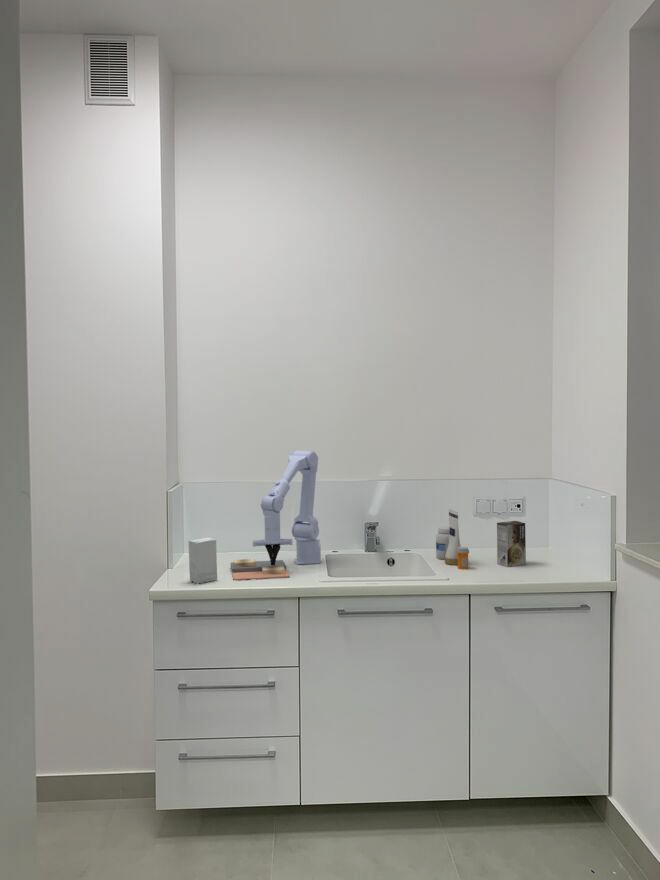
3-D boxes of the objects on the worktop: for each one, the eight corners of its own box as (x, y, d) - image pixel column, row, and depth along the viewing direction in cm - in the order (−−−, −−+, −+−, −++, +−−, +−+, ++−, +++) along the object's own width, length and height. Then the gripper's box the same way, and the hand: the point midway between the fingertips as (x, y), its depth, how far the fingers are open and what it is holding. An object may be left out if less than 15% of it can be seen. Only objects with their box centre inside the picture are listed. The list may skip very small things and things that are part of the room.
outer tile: (254, 563, 267) (254, 558, 267) (256, 566, 261) (256, 562, 261) (233, 564, 265) (233, 559, 265) (234, 567, 259) (234, 563, 259)
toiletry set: (433, 556, 284) (432, 506, 284) (451, 555, 286) (450, 505, 285) (455, 570, 260) (455, 515, 259) (474, 569, 261) (474, 514, 260)
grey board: (282, 565, 272) (282, 559, 272) (286, 571, 261) (286, 565, 261) (230, 567, 268) (230, 562, 268) (232, 574, 257) (232, 568, 257)
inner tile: (283, 570, 260) (283, 565, 260) (285, 573, 255) (285, 569, 255) (261, 571, 259) (261, 567, 259) (263, 574, 253) (263, 570, 253)
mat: (286, 571, 261) (286, 569, 261) (290, 577, 251) (289, 575, 251) (232, 574, 257) (232, 572, 257) (233, 580, 247) (233, 579, 247)
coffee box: (515, 561, 273) (515, 520, 273) (526, 564, 267) (526, 522, 267) (496, 564, 269) (496, 522, 269) (507, 567, 263) (507, 524, 263)
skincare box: (209, 577, 253) (208, 536, 252) (218, 580, 248) (217, 538, 247) (188, 581, 247) (187, 539, 247) (196, 584, 243) (196, 541, 242)
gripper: (253, 530, 254) (254, 568, 254) (293, 529, 257) (293, 566, 257) (252, 527, 261) (252, 564, 261) (290, 526, 263) (291, 562, 264)
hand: (272, 564), depth 260 cm, fingers closed
